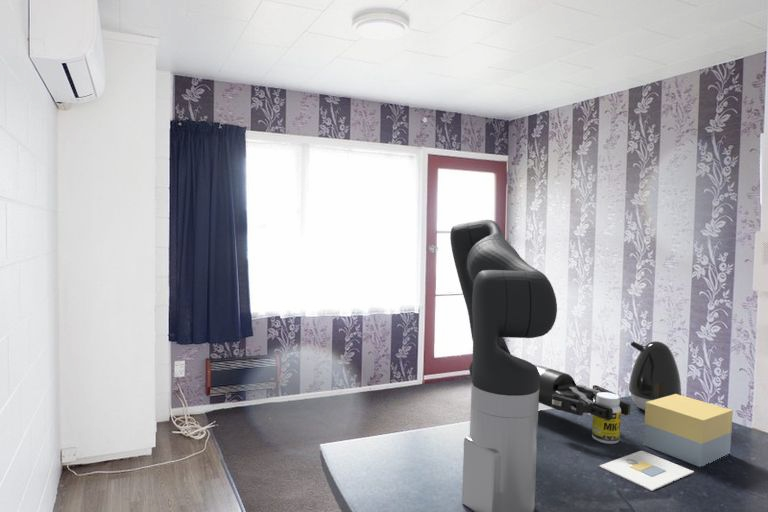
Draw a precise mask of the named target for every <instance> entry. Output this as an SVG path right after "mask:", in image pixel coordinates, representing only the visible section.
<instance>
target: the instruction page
mask: <svg viewBox="0 0 768 512" xmlns="http://www.w3.org/2000/svg"><path fill="white" fill-rule="evenodd" d="M599 468H601V469H604V470H605V471H607V472H610V473H612V474H614V475H616V476H618V477H620V478H623V479H625V480H626V481H627V480H628V481H629V482H631V483H633V484H635V485H638V486H640V487H642V488H645V489H646V490H649V491H651V492H653V491H655V490H657V489H660V488H662V487H664V486H667V485H669V484H671V483H674V482H676V481H678V480H681V479H683V478H686V477H687V476H689V475H692V474H694V473H695V471H694V470H691V469H689V468H686V467H684V466H682V465H679V464H676V463H673V462H671V461H669V460H667V459H664V458H662V457H659V456H657V455H654V454H652V453H649V452H647V451H644V450H639V451H636V452H633V453H630V454H628V455H624V456H622V457H620V458H619V457H618V458H617V459H614V460H611V461H607V462H605V463H603V464H600V465H599ZM680 478H681V479H680ZM673 481H674V482H673Z"/></svg>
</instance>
